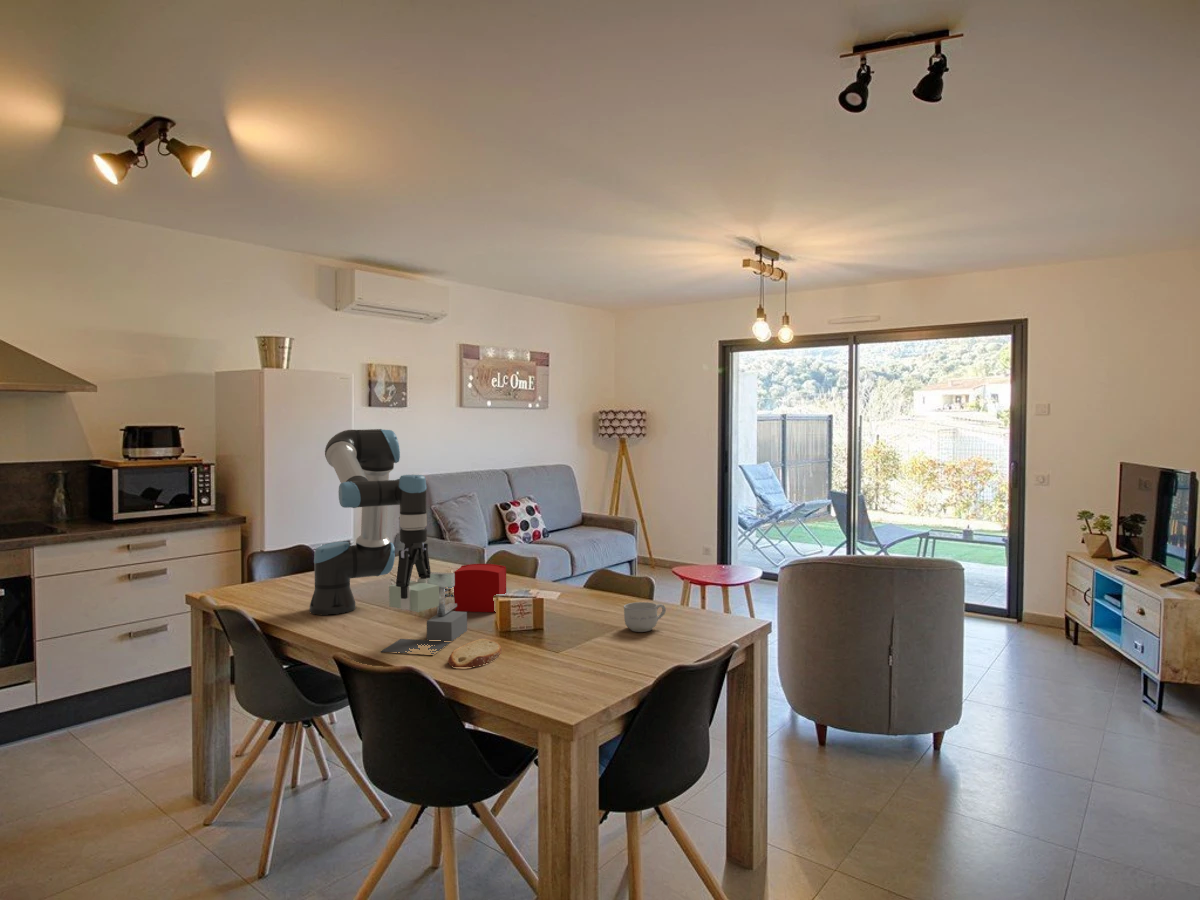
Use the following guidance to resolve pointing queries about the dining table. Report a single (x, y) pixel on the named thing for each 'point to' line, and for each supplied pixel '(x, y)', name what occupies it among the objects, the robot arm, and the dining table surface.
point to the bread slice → (475, 653)
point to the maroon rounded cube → (478, 586)
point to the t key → (443, 590)
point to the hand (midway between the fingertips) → (414, 604)
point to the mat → (413, 645)
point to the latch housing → (447, 626)
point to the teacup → (642, 615)
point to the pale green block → (416, 596)
